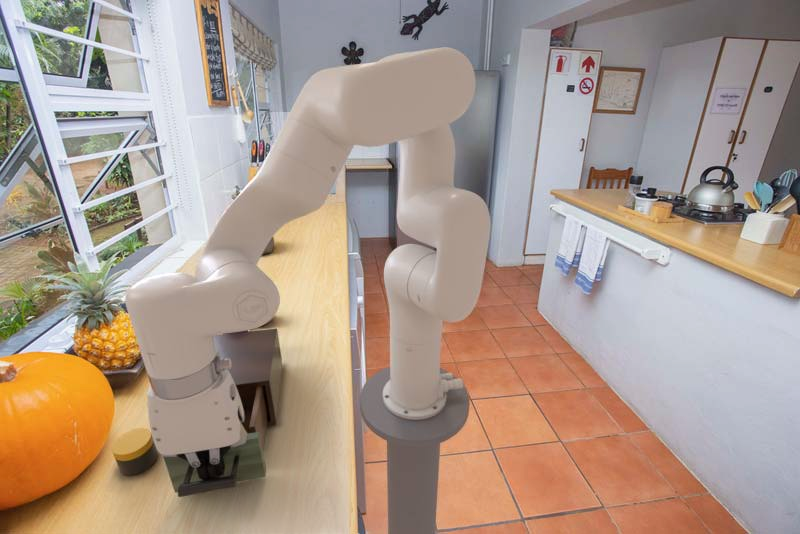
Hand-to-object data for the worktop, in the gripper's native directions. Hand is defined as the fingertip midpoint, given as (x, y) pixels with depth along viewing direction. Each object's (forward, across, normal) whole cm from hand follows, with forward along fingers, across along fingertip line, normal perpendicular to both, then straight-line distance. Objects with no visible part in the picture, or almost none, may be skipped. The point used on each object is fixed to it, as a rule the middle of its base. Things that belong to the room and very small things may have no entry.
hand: (213, 477), depth 54 cm
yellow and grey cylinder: (+4, +14, -10) cm, 18 cm away
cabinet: (+4, 0, -22) cm, 22 cm away
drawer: (+3, 0, -7) cm, 8 cm away
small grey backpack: (+5, +11, -106) cm, 107 cm away
